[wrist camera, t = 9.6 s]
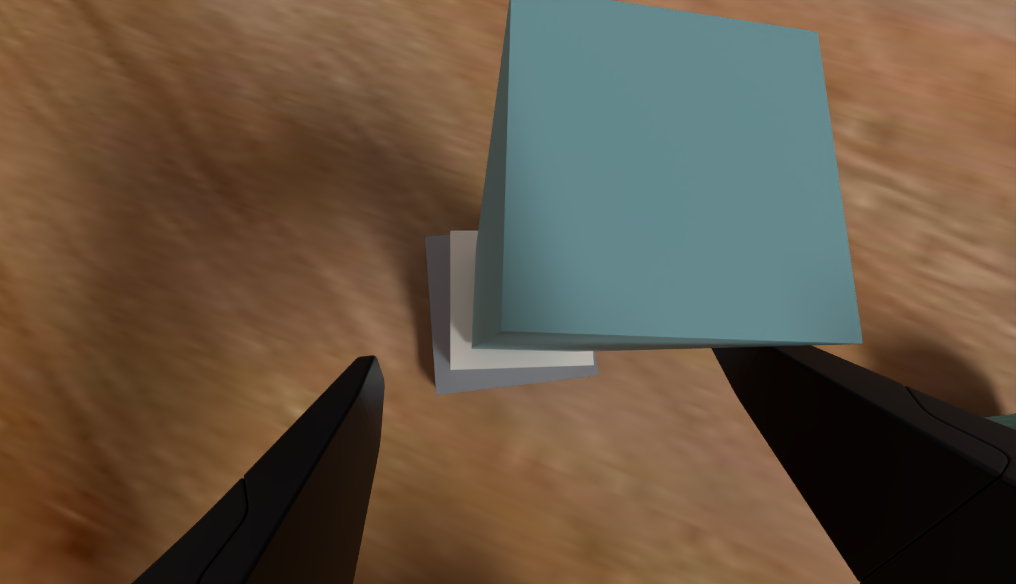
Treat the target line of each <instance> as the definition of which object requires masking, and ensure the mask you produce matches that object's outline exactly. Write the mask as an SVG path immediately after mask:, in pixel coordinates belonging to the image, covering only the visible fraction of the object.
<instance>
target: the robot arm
mask: <svg viewBox="0 0 1016 584" xmlns="http://www.w3.org/2000/svg"><path fill="white" fill-rule="evenodd" d="M712 350H713V352H714V354H715V356H716V358H717V360H718V362H719V364H720V366H721V368H722V370H723V371H724V373H725V375H726V377H727V379H728V381H729V383H730V385H731V387H732V389H733V390H734V392H735V394H736V396H737V397H738V399H739V401H740V402H741V404H742V405H743V407H744V408H745V410H746V411H747V413H748V414H749V416H750V417H751V419H752V420H753V422H754V424H755V425H756V427H757V428H758V430H759V431H760V433H761V434H762V436H763V437H764V439H765V440H766V442H767V443H768V445H769V446H770V448H771V449H772V451H773V452H774V454H775V455H776V457H777V458H778V460H779V461H780V463H781V465H782V466H783V468H784V469H785V471H786V472H787V474H788V475H789V477H790V478H791V480H792V481H793V483H794V484H795V486H796V487H797V489H798V490H799V492H800V493H801V495H802V496H803V498H804V499H805V501H806V502H807V504H808V506H809V507H810V509H811V510H812V512H813V513H814V515H815V516H816V518H817V519H818V521H819V522H820V524H821V525H822V527H823V528H824V530H825V531H826V533H827V534H828V536H829V537H830V539H831V540H832V542H833V543H834V545H835V547H836V548H837V550H838V551H839V553H840V554H841V556H842V557H843V559H844V560H845V562H846V563H847V565H848V566H849V568H850V569H851V571H852V572H853V574H854V575H855V577H856V578H857V580H858V581H859V582H860V584H1016V429H1013V428H1010V427H1008V426H1005V425H1003V424H1000V423H997V422H995V421H992V420H990V419H987V418H984V417H982V416H979V415H977V414H974V413H972V412H969V411H966V410H964V409H961V408H959V407H956V406H954V405H952V404H949V403H947V402H944V401H942V400H939V399H937V398H935V397H932V396H930V395H927V394H925V393H923V392H920V391H918V390H916V389H913V388H911V387H909V386H904V385H903V384H901V383H899V382H896V381H894V380H892V379H889V378H887V377H885V376H882V375H880V374H878V373H875V372H873V371H870V370H868V369H866V368H863V367H861V366H859V365H856V364H854V363H852V362H849V361H847V360H844V359H842V358H840V357H837V356H835V355H833V354H830V353H828V352H826V351H823V350H821V349H818V348H816V347H814V346H811V345H804V346H766V347H729V348H712ZM384 388H385V384H384V377H383V374H382V371H381V369H380V366H379V363H378V360H377V358H376V357H375V356H373V355H371V356H362V357H358V358H357V359H356V360H355V361H354V362H353V363H352V364H351V365H350V366H349V367H348V368H347V369H346V370H345V371H344V372H343V373H342V374H341V375H340V376H339V377H338V378H337V379H336V380H335V381H334V382H333V383H332V384H331V385H330V386H329V388H328V389H327V390H326V391H325V392H324V393H323V394H322V395H321V396H320V397H319V398H318V399H317V400H316V401H315V402H314V403H313V404H312V405H311V406H310V407H309V408H308V409H307V410H306V411H305V412H304V413H303V415H302V416H301V417H300V418H299V419H298V420H297V421H296V422H295V423H294V424H293V425H292V426H291V427H290V428H289V429H288V430H287V431H286V432H285V433H284V434H283V435H282V436H281V437H280V438H279V439H278V440H277V441H276V443H275V444H274V445H273V446H272V447H271V448H270V449H269V450H268V451H267V452H266V453H265V454H264V455H263V456H262V457H261V458H260V459H259V460H258V461H257V462H256V463H255V464H254V465H253V466H252V467H251V468H250V469H249V471H248V472H247V473H246V474H245V475H244V478H241V479H240V480H239V481H238V482H237V483H236V484H235V485H234V486H233V487H232V488H231V489H230V490H229V491H228V492H227V493H226V494H225V495H224V496H223V497H222V498H221V499H220V500H219V501H218V502H217V503H216V504H215V505H214V506H213V507H212V508H211V509H210V510H209V511H208V512H207V513H206V514H205V515H204V516H203V517H202V518H201V519H200V520H199V521H198V522H197V523H196V524H195V525H194V526H193V527H192V528H191V529H190V530H189V531H188V532H187V533H186V534H185V535H183V536H182V537H181V538H180V539H179V540H178V541H177V542H176V543H175V544H174V545H173V546H172V547H171V548H170V549H169V550H168V551H166V552H165V553H164V554H163V555H162V556H161V557H160V558H159V559H158V560H157V561H156V562H154V563H153V564H152V565H151V566H150V567H149V568H148V569H147V570H146V571H145V572H144V573H142V574H141V575H140V576H139V577H138V578H137V579H136V580H135V581H134V582H133V583H132V584H353V581H354V576H355V571H356V565H357V560H358V555H359V550H360V545H361V540H362V535H363V530H364V525H365V520H366V514H367V509H368V504H369V499H370V494H371V489H372V484H373V479H374V474H375V469H376V464H377V458H378V453H379V447H380V439H381V427H382V414H383V401H384Z"/></svg>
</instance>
